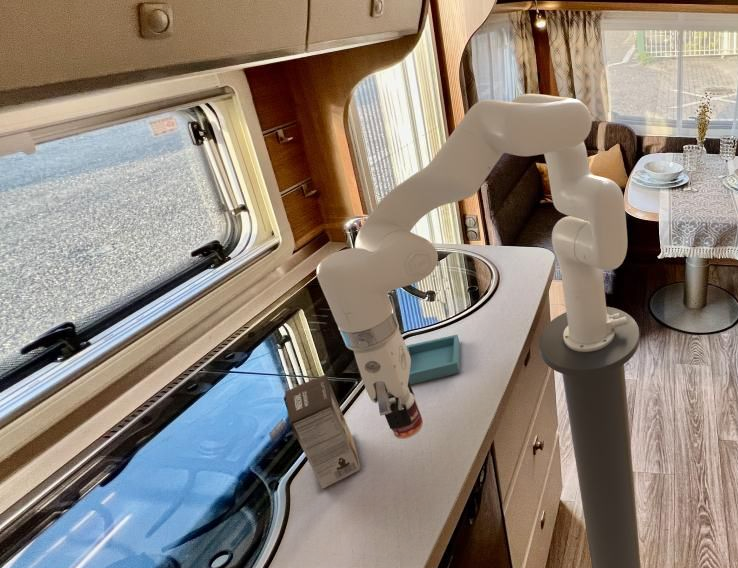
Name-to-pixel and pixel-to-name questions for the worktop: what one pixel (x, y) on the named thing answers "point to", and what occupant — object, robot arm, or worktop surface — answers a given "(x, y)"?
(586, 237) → the robot arm
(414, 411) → the pill bottle
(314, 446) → the coffee box
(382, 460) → the worktop surface
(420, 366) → the medicine tray
